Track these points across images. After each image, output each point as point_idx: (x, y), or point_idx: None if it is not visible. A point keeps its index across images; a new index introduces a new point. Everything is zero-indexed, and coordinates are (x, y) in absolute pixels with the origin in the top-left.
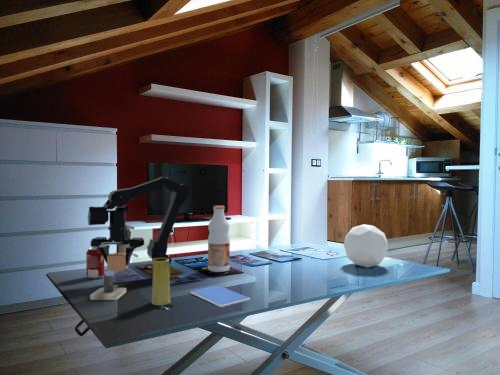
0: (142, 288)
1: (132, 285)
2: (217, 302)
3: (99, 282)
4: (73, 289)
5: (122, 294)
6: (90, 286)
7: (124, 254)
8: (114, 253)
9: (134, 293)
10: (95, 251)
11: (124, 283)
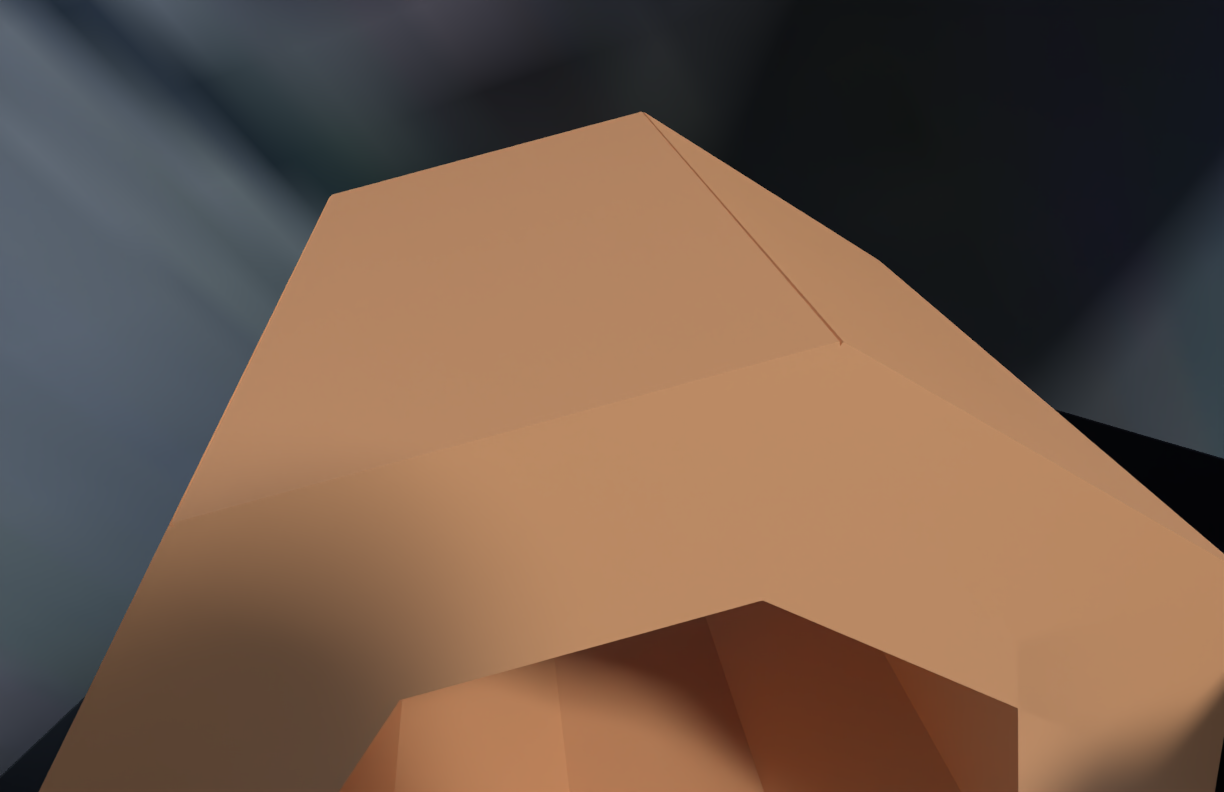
0: (1142, 335)
1: (883, 233)
2: None
3: (11, 280)
4: (11, 761)
5: None
6: (119, 558)
7: (1018, 699)
8: (114, 743)
9: None
10: None
11: None
